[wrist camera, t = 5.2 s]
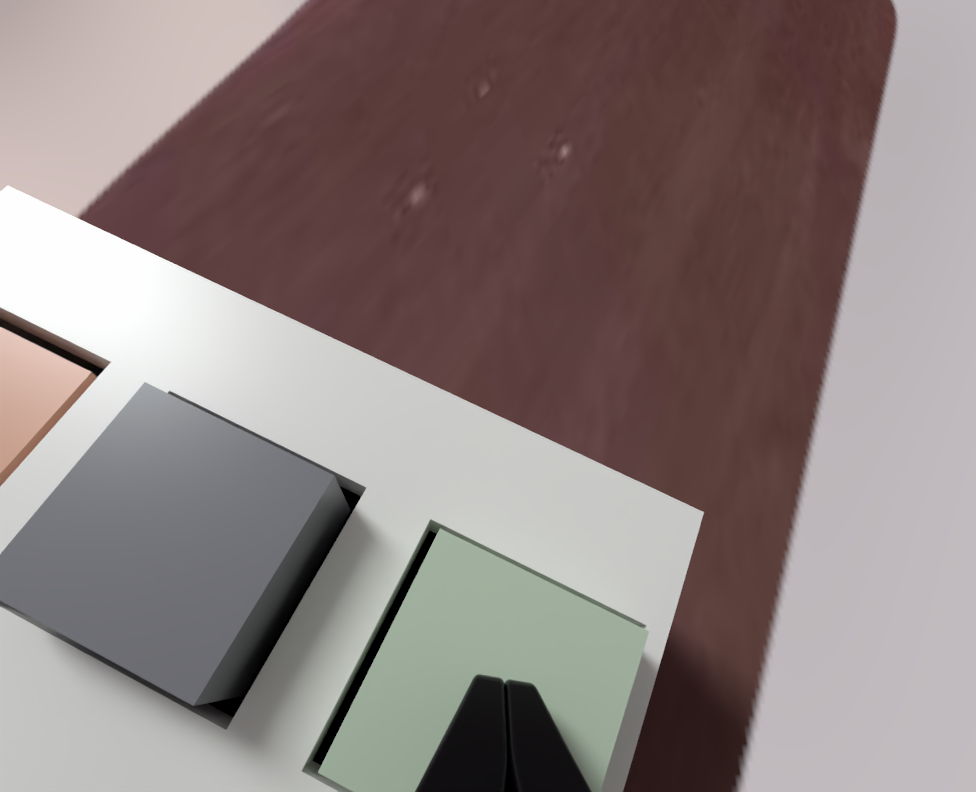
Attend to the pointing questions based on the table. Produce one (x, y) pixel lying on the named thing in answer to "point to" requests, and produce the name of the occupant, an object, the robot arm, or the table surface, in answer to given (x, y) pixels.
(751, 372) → the table surface
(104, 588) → the charcoal button
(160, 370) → the button console
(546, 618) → the sage-green button
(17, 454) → the terracotta button
